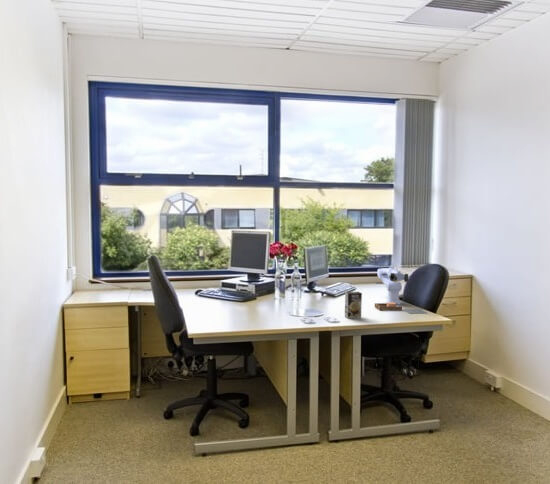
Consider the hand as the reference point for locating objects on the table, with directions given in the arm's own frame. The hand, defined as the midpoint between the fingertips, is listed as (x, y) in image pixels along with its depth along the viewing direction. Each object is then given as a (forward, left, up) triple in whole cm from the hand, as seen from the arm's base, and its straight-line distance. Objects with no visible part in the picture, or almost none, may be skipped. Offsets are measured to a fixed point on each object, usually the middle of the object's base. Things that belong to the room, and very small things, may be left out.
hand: (402, 279), depth 332 cm
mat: (+6, +7, -21) cm, 23 cm away
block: (-4, -6, -21) cm, 22 cm away
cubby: (-4, -8, -21) cm, 23 cm away
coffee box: (+20, -39, -21) cm, 49 cm away
